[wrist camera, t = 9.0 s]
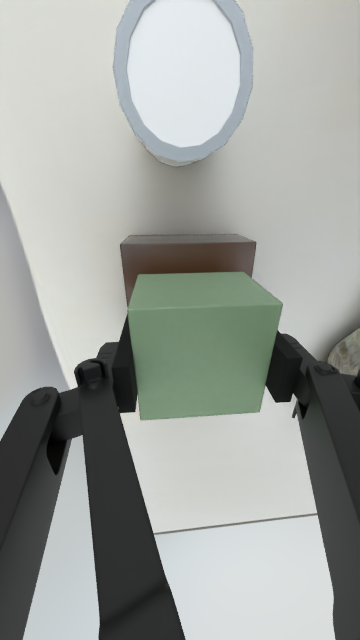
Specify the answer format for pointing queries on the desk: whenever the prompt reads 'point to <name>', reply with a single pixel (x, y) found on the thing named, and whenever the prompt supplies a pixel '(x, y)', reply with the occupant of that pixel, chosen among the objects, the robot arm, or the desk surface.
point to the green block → (201, 343)
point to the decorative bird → (347, 354)
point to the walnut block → (184, 255)
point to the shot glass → (183, 75)
